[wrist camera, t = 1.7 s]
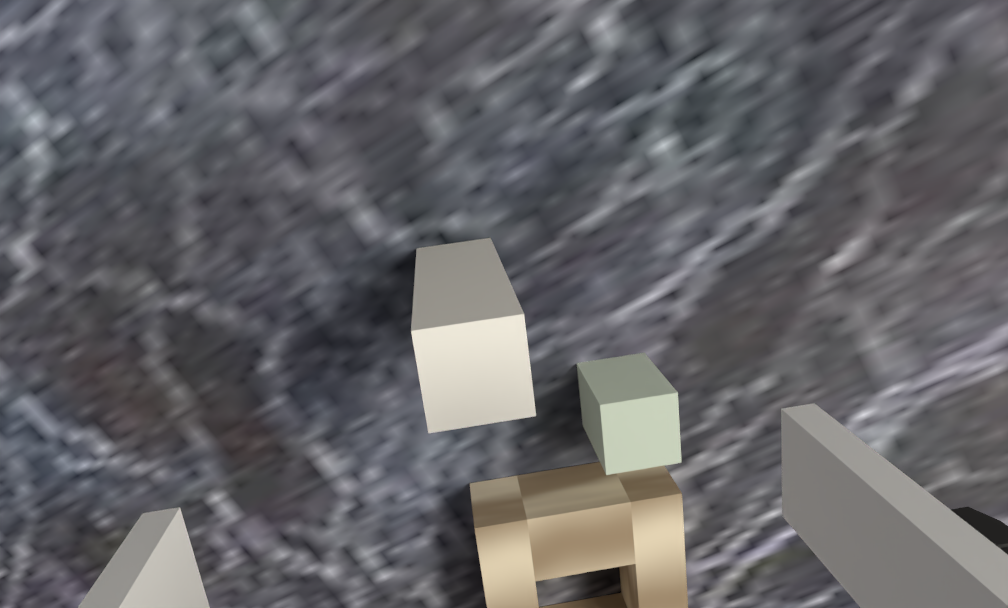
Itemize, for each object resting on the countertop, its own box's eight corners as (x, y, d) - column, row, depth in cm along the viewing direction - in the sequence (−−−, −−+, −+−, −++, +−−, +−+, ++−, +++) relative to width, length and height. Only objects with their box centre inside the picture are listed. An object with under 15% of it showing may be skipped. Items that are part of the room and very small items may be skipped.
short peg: (576, 363, 35) (599, 405, 31) (644, 352, 36) (677, 392, 31) (582, 425, 36) (606, 474, 32) (648, 414, 37) (681, 462, 32)
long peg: (416, 248, 33) (411, 330, 21) (490, 238, 33) (524, 313, 22) (428, 318, 34) (428, 433, 22) (499, 308, 34) (536, 416, 23)
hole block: (469, 483, 37) (474, 528, 33) (655, 452, 37) (681, 493, 33) (498, 665, 40) (505, 725, 36) (667, 634, 41) (692, 690, 37)
